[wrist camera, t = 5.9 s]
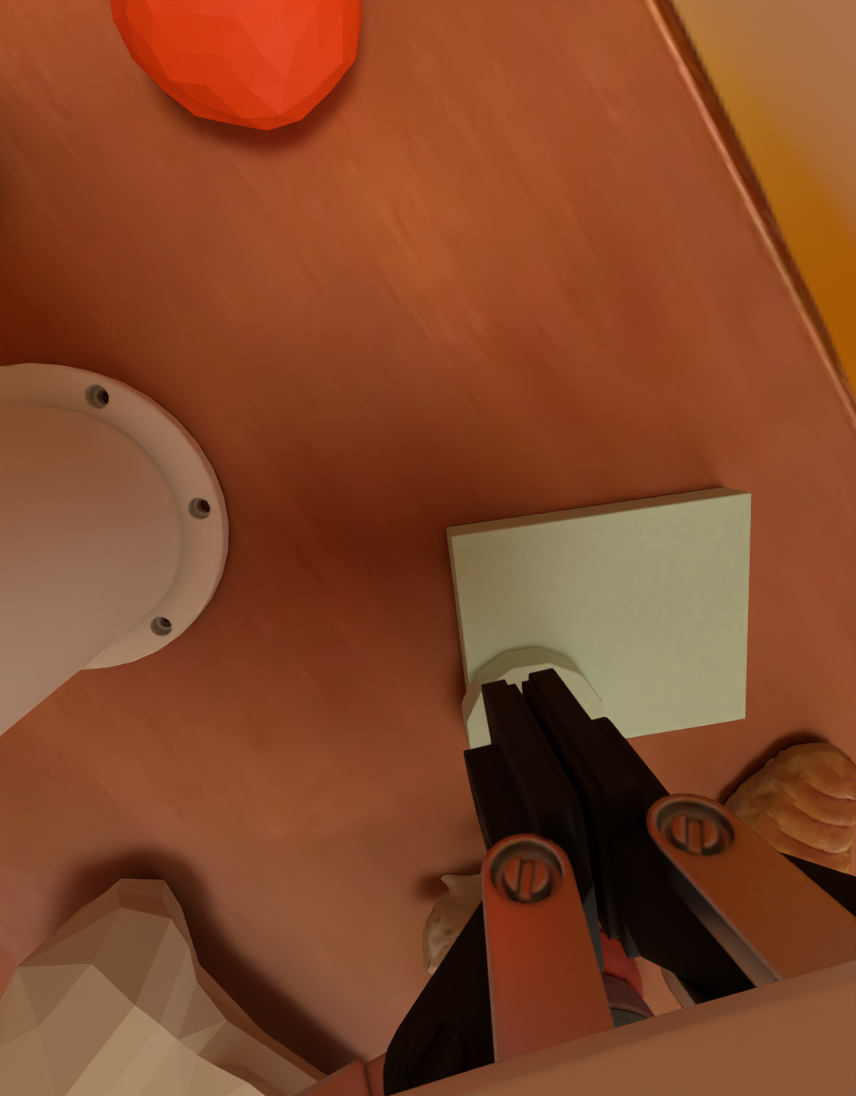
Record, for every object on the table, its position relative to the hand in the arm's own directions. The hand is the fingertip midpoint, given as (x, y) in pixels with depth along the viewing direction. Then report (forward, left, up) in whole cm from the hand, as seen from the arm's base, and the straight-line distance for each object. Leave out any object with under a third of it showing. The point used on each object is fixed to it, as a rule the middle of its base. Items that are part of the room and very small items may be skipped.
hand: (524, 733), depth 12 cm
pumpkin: (-5, +21, -13) cm, 25 cm away
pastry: (+15, -17, -13) cm, 26 cm away
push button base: (+6, -3, -13) cm, 15 cm away
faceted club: (-15, -24, -13) cm, 30 cm away
